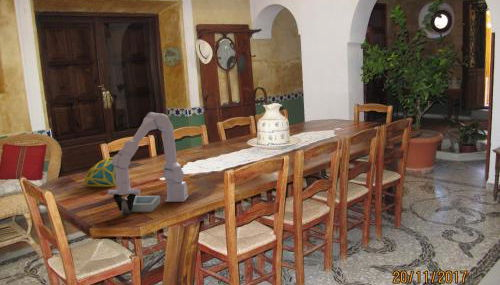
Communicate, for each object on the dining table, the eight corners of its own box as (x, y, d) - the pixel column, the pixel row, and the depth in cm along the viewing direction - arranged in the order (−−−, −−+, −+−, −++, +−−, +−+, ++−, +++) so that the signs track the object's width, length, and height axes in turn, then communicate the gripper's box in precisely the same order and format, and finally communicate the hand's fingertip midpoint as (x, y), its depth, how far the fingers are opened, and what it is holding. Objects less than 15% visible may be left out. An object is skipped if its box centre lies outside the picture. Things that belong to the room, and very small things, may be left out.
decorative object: (118, 183, 270) (105, 161, 269) (139, 172, 255) (125, 148, 254) (85, 201, 252) (71, 177, 251) (106, 190, 237) (91, 164, 236)
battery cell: (132, 212, 211) (130, 196, 209) (129, 215, 207) (127, 199, 206) (124, 212, 211) (122, 196, 210) (120, 215, 208) (118, 199, 206)
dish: (160, 202, 222) (159, 195, 222) (152, 211, 211) (151, 204, 210) (136, 202, 224) (135, 195, 223) (126, 211, 212) (126, 204, 212)
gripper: (103, 183, 203) (107, 213, 206) (135, 183, 201) (138, 213, 204) (110, 179, 210) (113, 207, 213) (141, 178, 208) (143, 207, 211)
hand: (126, 210), depth 209 cm, fingers closed on battery cell, 4 cm apart
